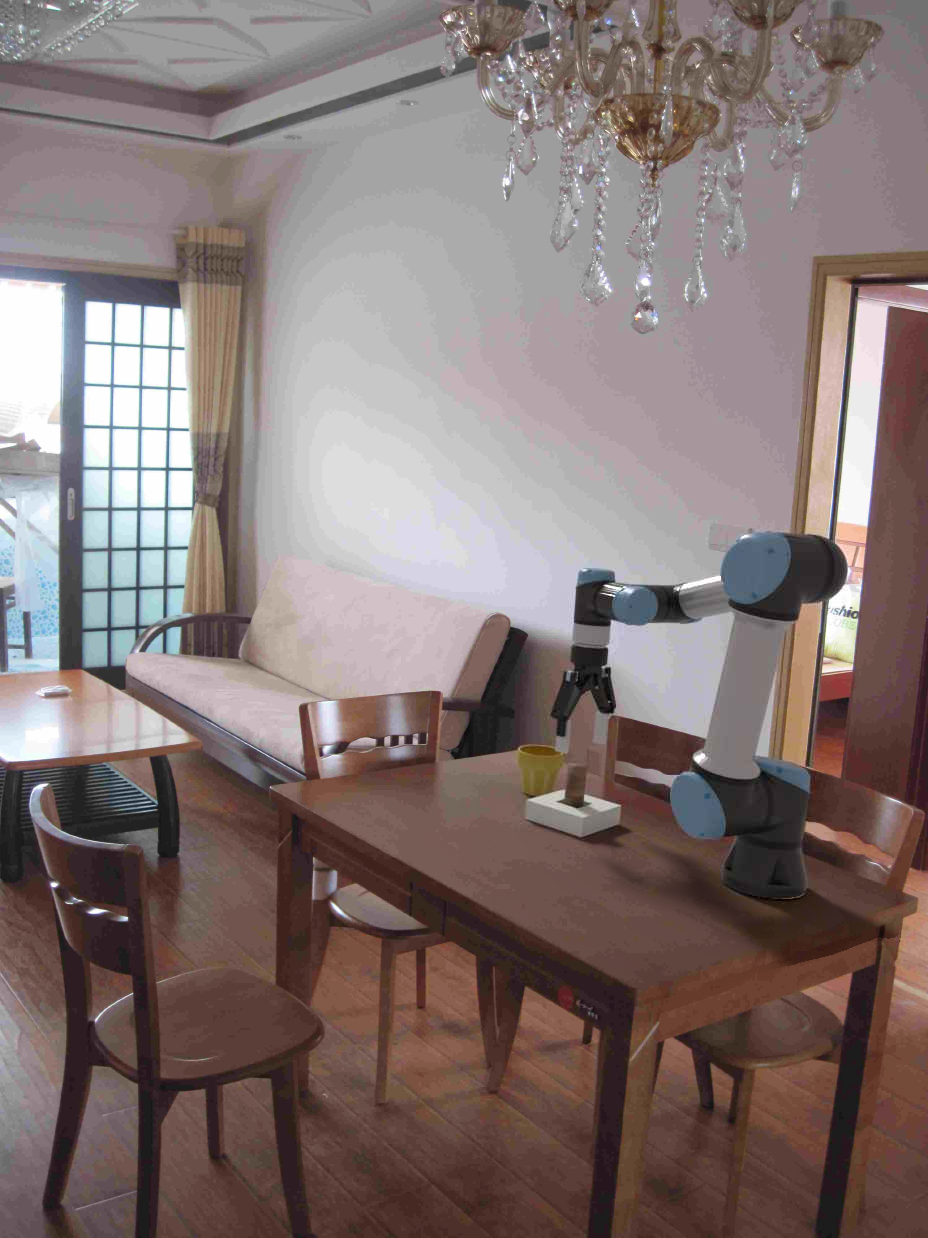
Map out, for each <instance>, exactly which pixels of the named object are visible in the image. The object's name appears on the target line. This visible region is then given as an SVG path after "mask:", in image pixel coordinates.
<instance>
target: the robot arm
mask: <svg viewBox="0 0 928 1238" xmlns="http://www.w3.org/2000/svg"><path fill="white" fill-rule="evenodd" d="M723 556H724V557H723V558H722V562H721V566H720V571H719V572H720V573H718V574H714V575H710V576H706V577H702V578H698V579H694V580H690V581H686V582H682V583H677V584H670V585H669V584H666V585H660V584H637V583H636V584H633V583H632V584H629V583H622V582H616V573H615V571H614V570H612V569H604V568H598V567H597V568H596V567H595V568H594V567H582V568H581V569H580V570H578V573H577V581H576V585H575V597H574V598H575V599H574V611H573V627H572V638H571V641H572V645H571V646H570V657H569V661H570V663H572V664H573V665H574V668H573V670H569V669H565V670H564V671H563V675H562V681H561V684H560V687H559V689H558V693H557V695H556V698H555V701H554V703H553V705H552V708H551V711H550V718H551V717H552V719H554V720H556V732H555V734H556V735H555V736H556V738H555V746H554V747H555V751H557V752H561V753H564V755H565V754H569V750H570V741H571V740H570V739H571V726H572V720H570V718H571V716H572V714H573V712H574V710H575V708H576V707H577V704H578V703H579V701H580V699H581V697H582V695H585V694H586V692H589V691H590V693H591V695H592V698H593V700H594V702H595V704H596V707H597V710H598V711H596V712H595V715H594V716H595V717H594V728H593V737H592V738H593V739H592V740H593V741H592V743H593V744H598V745H602V746H606V745H607V737H608V736H607V735H608V725H609V715H610V714H611V715H612V714H613V715H614V713H615V710H616V708H617V702H616V698H615V691H614V687H613V681H612V667H610V666H607V665H608V660H609V648H608V647H607V646H609V644H610V642H611V641H610V640H611V639H610V638H611V627H612V621H614V622H618V623H622V624H625V625H628V626H638V627H641V626H646V625H647V624H660V623H661V624H680V625H685V624H686V625H687V624H692V623H693V624H695V623H698V622H701V621H702V619H703V618H708V617H713V616H718V615H723V614H724V615H725V614H728V613H732V615H733V623H732V626H731V630H730V635H729V640H728V644H727V647H726V652H725V657H724V659H723V660H724V661H723V664H722V670H721V674H720V677H719V678H720V679H719V681H718V686H717V690H716V694H715V698H714V699H715V700H714V703H713V708H712V712H711V716H710V722H709V725H708V730H707V734H706V737H705V742H704V746H703V747H702V748H701V749H698V750H696V751H695V752H694V753H693V755H692V759H691V763H690V766H689V771H683V772H682V773H680V774H678V776H676V777H675V778H674V779H673V781H672V784H671V788H670V795H669V797H670V799H669V800H670V806H671V811H672V813H673V814H674V816H675V817H674V818H675V820H676V823H677V824H678V825H679V827H680V828H681V829H682V830H683V831H684V832H685V834H687V835H689V836H690V837H691V838H694V839H698V840H715V841H716V840H719V839H722V838H730V837H735V839H734V840H733V843H732V844H731V847H730V849H729V851H728V853H727V856H726V857H725V859H724V861H723V863H722V867H721V875H720V879H721V881H722V883H723V884H725V885H726V886H727V887H729V888H730V889H733V890H735V891H737V892H739V893H741V892H742V894H744V893H745V894H744V895H748V894H749V895H748V896H751V895H753V896H752V897H755V896H758V897H757V898H760V897H766V898H778V899H780V898H781V899H782V898H791V897H797V896H800V895H802V894H803V893H805V892H806V893H807V890H808V889H807V888H808V876H807V869H806V866H805V860H804V856H803V839H804V834H805V827H806V819H807V813H808V812H807V811H808V805H809V798H810V794H811V789H810V785H811V775H810V773H809V772H808V770H807V769H806V768H804V767H802V766H800V765H797V764H795V763H792V762H789V761H786V760H783V759H782V760H781V759H778V758H775V757H768V756H762V755H756V753H757V751H758V750H757V749H758V745H759V740H760V736H761V734H762V728H763V725H764V724H763V723H764V721H765V717H766V712H767V709H768V705H769V701H770V697H771V692H772V688H773V683H774V680H775V676H776V672H777V669H778V667H777V666H778V663H779V659H780V654H781V651H782V647H783V645H784V644H783V643H784V639H785V636H786V635H785V634H786V631H787V629H788V627H790V626H792V625H794V624H796V623H797V622H798V621H799V618H800V613H801V610H802V606H803V604H804V605H805V604H806V605H808V604H809V605H810V604H811V605H812V604H819V603H823V602H826V601H829V600H831V599H832V598H834V597H835V596H836V595H838V594H839V592H841V590H842V589H843V587H844V585H845V584H846V581H847V578H848V571H849V570H848V568H849V567H848V562H847V557H846V555H845V553H844V551H843V550H842V548H841V547H840V546H839V545H838V544H837V543H836V542H835V541H833V540H831V539H829V538H828V537H825V536H822V535H818V534H812V533H811V534H809V533H807V534H805V533H804V534H803V533H792V532H779V531H772V530H767V531H755V532H754V531H753V532H748V533H745V534H744V535H741V537H739V538H738V539H736V540H735V541H734V542H732V544H730V546H729V547H728V549H727V550H726V552H725V554H724V555H723ZM806 889H807V890H806Z"/></svg>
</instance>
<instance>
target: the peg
mask: <svg viewBox="0 0 928 1238" xmlns="http://www.w3.org/2000/svg"><path fill="white" fill-rule="evenodd" d="M587 773H588V765H587V764H585V763H581V762H573V761H571V762H569V763H567V769H566V778H565V787H564V789H565V797H564V804H565V805H568V806H571V807H574V808H577V809H578V808H581V807H583V804H584V794H585V792H586V785H587V784H586V783H587ZM585 795H586V794H585Z"/></svg>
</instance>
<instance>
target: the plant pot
mask: <svg viewBox="0 0 928 1238" xmlns="http://www.w3.org/2000/svg"><path fill="white" fill-rule="evenodd" d="M555 747H556V746H552V745H551V746H550V745H543V744H542V745H541V744H524V745H520V746H519V747H518V748H517V752H516V754H517V755H516V763H517V765H519V766H518V767H519V774H520V779H521V788H522V789H521V790H522V792H523V793H524V794H525V795H528V796H532V797H538V796H542V795H545V794H549V793H553V792H554V789H555V785H556V782H557V779H558V775H559V772H560V769H562V768H563V766H564V759H565V758H564V757H565V753H561V752H557V751H555Z"/></svg>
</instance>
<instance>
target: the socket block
mask: <svg viewBox="0 0 928 1238" xmlns="http://www.w3.org/2000/svg"><path fill="white" fill-rule="evenodd" d="M564 797H565V788H564V789H559V790H556V791H553V793H549V794H545V795H542V796H534V797H532V798H528V799H526V803H525V813H524V820H527V821H531V822H534V823H537V824H540V825H543V826H545V827H549V828H552V829H555V830H558V831H561V832H564V833H567V834H569V835H573V836H577V837H579V838H582V837H586V836H589V835H592V834H595V833H597V832H598V833H599V832H600V831H602V830H603V831H604V830H607V829H610V828H612V827H615V826H618V825H620V821H621V820H620V819H621V811H622V805H621V804H618V803H614V802H611V801H608V800H605V799H602V798H601V799H600V798H598V797H594V796H592V795H588V794H584V804H583V807H581V808H578V809H577V808H574V807H571V806H568V805H565V804H564Z"/></svg>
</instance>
